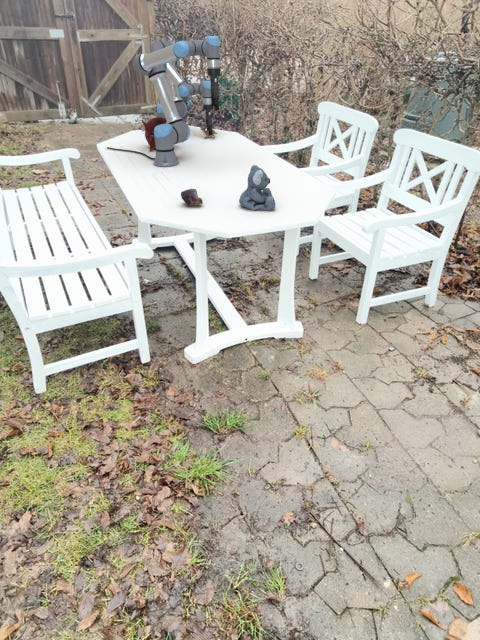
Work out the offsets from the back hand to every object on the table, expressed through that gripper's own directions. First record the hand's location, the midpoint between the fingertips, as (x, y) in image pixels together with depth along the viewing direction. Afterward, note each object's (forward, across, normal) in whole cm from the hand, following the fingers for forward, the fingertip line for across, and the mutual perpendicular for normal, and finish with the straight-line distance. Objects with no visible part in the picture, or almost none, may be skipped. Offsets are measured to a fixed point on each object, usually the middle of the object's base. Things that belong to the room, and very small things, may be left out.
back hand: (209, 133), depth 352 cm
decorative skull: (+3, -24, +38) cm, 45 cm away
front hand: (-31, -80, +4) cm, 86 cm away
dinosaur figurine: (+3, 0, 0) cm, 3 cm away
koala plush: (+4, -154, -6) cm, 155 cm away
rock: (+4, -146, +27) cm, 149 cm away
